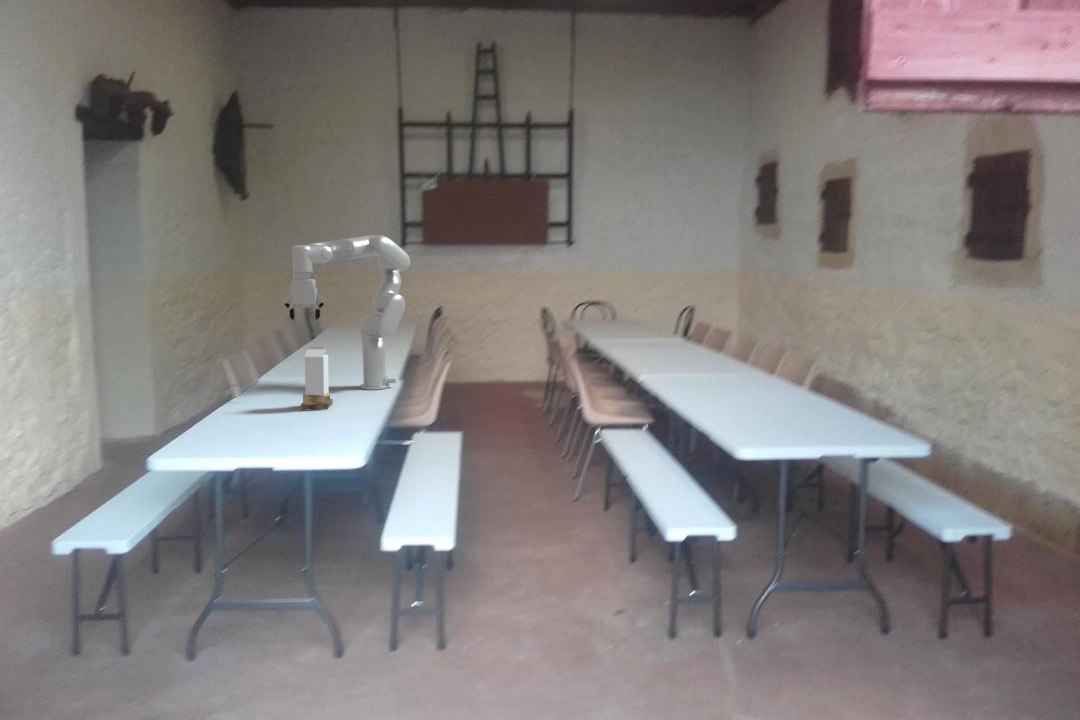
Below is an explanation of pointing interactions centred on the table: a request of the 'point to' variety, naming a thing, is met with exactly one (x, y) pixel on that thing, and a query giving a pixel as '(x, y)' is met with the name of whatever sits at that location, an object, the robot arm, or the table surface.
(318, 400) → the top slab
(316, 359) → the milk carton
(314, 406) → the bottom slab
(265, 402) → the table surface
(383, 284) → the robot arm
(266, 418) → the table surface
